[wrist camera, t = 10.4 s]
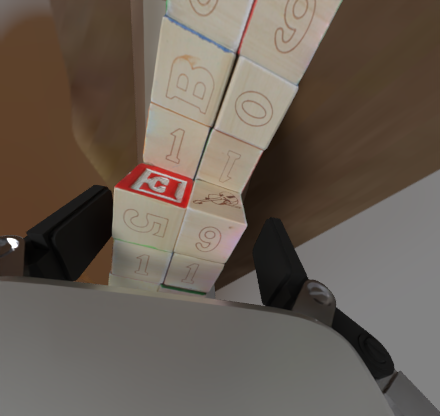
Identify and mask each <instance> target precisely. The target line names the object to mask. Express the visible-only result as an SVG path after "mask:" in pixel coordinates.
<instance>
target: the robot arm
mask: <svg viewBox="0 0 440 416" xmlns="http://www.w3.org/2000/svg"><path fill="white" fill-rule="evenodd" d="M112 223H113V199H112V192H111V190H109V189H108V187H105V186H100V185H93V186H92V187H91V188H89V189H88V190H86V191H85V192H83V193H82V194H80V195H79V196H78V197H76V198H75V199H73V200H72V201H70V202H69V203H68V204H66V205H65V206H63V207H62V208H60V209H59V210H57V211H56V212H54V213H53V214H52V215H50V216H49V217H47V218H46V219H44V220H43V221H41V222H40V223H39V224H37V225H36V226H34V227H33V228H31V229H30V230H28V231H27V236H26V237H25V238H21V237H19V236H15V235H14V236H13V235H10V236H9V235H7V236H0V416H440V412H439V411H438V410H437V408H436V407H435V406H434V405H433V404H432V403H431V402H430V401H429V400H428V399H427V398H426V397H425V396H424V395H423V394H422V393H421V392H420V391H419V390H418V389H417V387H416V386H414V384H413V383H412V382H411V381H410V380H409V379H408V378H407V377H406V376H405V375H404V374H403V373H402V372H401V371H399V372H397V371H396V370H395V369H394V363H393V361H392V359H391V356H390V355H389V353H388V352H387V350H386V349H385V348H384V347H383V345H382V344H381V343H380V342H379V341H378V340H377V339H375V338H374V337H373V336H372V335H371V334H369V333H368V332H367V331H366V330H364V329H363V328H362V327H360V326H359V325H358V324H357V323H355V322H354V321H353V320H352V319H350V318H349V317H348V316H346V315H345V314H344V313H343V312H341V311H340V310H339V309H338V308H336V300H335V297H334V295H333V294H332V292H331V291H330V290H329V289H328V288H327V287H326V286H325V285H324V284H322V283H320V282H318V281H316V280H309V279H308V277H307V274H306V272H305V270H304V268H303V266H302V264H301V262H300V260H299V258H298V255H297V253H296V251H295V249H294V247H293V245H292V243H291V241H290V238H289V236H288V234H287V232H286V230H285V228H284V226H283V224H282V222H281V220H280V219H278V218H272V217H271V218H269V219H267V220H266V221H265V224H264V226H263V228H262V230H261V232H260V234H259V237H258V239H257V241H256V243H255V245H254V248H253V258H254V263H255V269H256V273H257V278H258V284H259V289H260V294H261V299H262V303H263V305H265V306H261V305H254V304H247V303H240V302H232V301H225V300H217V299H210V298H202V297H195V296H187V295H179V294H171V293H163V292H155V291H147V290H139V289H131V288H123V287H114V286H106V285H98V284H90V283H81V282H73V281H76V280H77V279H78V278H79V277H80V275H81V274H82V273H83V272H84V270H85V269H86V268H87V267H88V265H89V264H90V263H91V261H92V260H93V259H94V258H95V256H96V255H97V254H98V253H99V251H100V250H101V249H102V248H103V246H104V245H105V244H106V242H107V241H108V240H109V239H110V237H111V236H112Z"/></svg>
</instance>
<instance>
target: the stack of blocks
mask: <svg viewBox="0 0 440 416" xmlns="http://www.w3.org/2000/svg"><path fill="white" fill-rule="evenodd" d="M341 2H342V0H166V14H165V15H164V16H163V17H162V22H161V28H160V35H159V42H158V49H157V56H156V64H155V71H154V79H153V86H152V92H151V103H150V106H149V110H148V118H147V125H146V133H145V141H144V149H143V161H144V162H143V163H141V164H139V165H138V166H136V167H135V169H134V170H132V171H131V172H130V173H129V174H128V175H127V176H125V177H124V178H123V179H122V180H121V181H120V182H119V183H118V184H117V185H116V186H115V187H114V204H113V223H112V236H113V238H114V239H113V247H112V264H111V271H110V274H109V285H108V286H114V287H123V288H131V289H139V290H147V291H155V292H163V293H171V294H179V295H187V296H195V297H202V298H205V297H206V294H207V292H209V291H210V290H211V289H212V287H213V285H214V283H215V282H216V280H217V278H218V277H219V275H220V273H221V272H222V270H223V268H224V264H225V263H226V262H227V260H228V259H229V257H230V255H231V253H232V252H233V250H234V248H235V247H236V245H237V243H238V242H239V240H240V238H241V236H242V234H243V233H244V231H245V229H246V228H247V221H246V217H245V212H244V208H243V203H242V198H241V194H242V192H243V190H244V188H245V186H246V184H247V182H248V180H249V179H250V177H251V175H252V173H253V171H254V169H255V167H256V165H257V163H258V161H259V160H260V158H261V156H262V154H263V151H264V150H266V149H267V147H268V146H269V144H270V142H271V140H272V138H273V136H274V134H275V133H276V131H277V129H278V127H279V125H280V123H281V121H282V119H283V118H284V116H285V114H286V112H287V110H288V108H289V106H290V104H291V102H292V100H293V99H294V97H295V95H296V93H297V91H298V83H299V82H300V80H301V78H302V76H303V75H304V73H305V71H306V69H307V67H308V65H309V64H310V62H311V60H312V58H313V56H314V54H315V52H316V50H317V48H318V46H319V44H320V43H321V41H322V39H323V37H324V35H325V33H326V31H327V29H328V27H329V25H330V23H331V22H332V20H333V18H334V16H335V14H336V12H337V10H338V8H339V6H340V4H341Z"/></svg>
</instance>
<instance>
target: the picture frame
mask: <svg viewBox="0 0 440 416" xmlns="http://www.w3.org/2000/svg"><path fill="white" fill-rule="evenodd" d="M165 14H166V0H131V21H132V43H133V65H134V87H135V109H136V131H137V153H138V165H139V164H141V163H143V162H144V161H143V149H144V141H145V133H146V125H147V118H148V110H149V106H150V103H151V92H152V86H153V79H154V71H155V64H156V56H157V49H158V42H159V35H160V28H161V22H162V17H163V16H164V15H165ZM253 172H254V171H253ZM252 175H253V173H252ZM252 175H251V177H250V179H249V180H248V182H247V184H246V186H245V188H244V190H243V192H242V194H241V198H242V203H243V202H244V199H245V196H246V193H247V190H248V187H249V184H250V181H251V178H252Z"/></svg>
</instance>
